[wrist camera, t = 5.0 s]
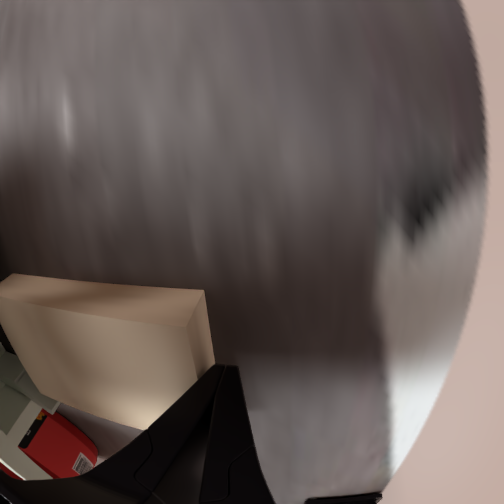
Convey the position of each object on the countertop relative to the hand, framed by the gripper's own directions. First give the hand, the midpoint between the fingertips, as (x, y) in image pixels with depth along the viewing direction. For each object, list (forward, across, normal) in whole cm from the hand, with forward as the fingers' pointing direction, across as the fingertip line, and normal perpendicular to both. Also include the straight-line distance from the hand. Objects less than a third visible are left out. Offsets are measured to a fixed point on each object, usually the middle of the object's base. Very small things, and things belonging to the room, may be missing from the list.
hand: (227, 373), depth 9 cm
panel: (+1, +6, +1) cm, 6 cm away
